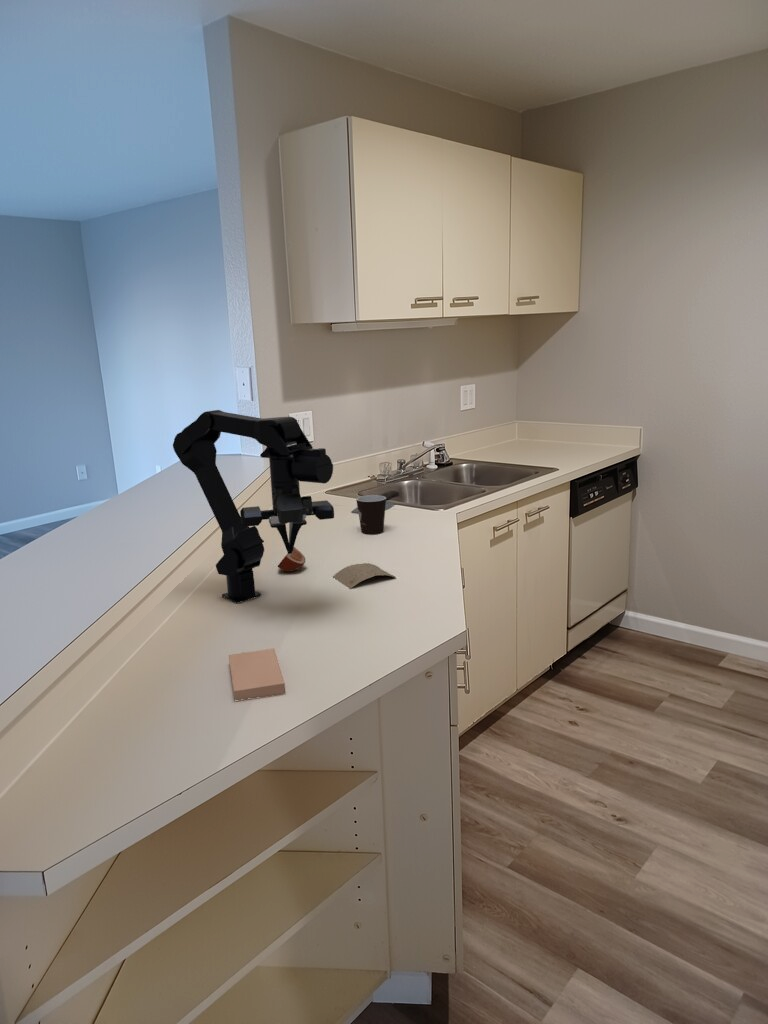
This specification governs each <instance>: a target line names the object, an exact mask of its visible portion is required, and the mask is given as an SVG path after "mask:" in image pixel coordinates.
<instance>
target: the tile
mask: <svg viewBox="0 0 768 1024" xmlns="http://www.w3.org/2000/svg"><path fill="white" fill-rule="evenodd" d="M228 660H229V669H230V675H231V682H232V690H233V697H234V701H235V700H241V699H248V698H255V699H258V698H257V697H261V698H267V697H266V696H268V697H273V696H272V695H274V696H279V695H278V694H281V695H285V694H286V685H285V680H284V676H283V674H282V673H283V672H282V670H281V666H280V663H279V659H278V656H277V652H276V649H275V648H267V649H259V650H254V651H247V652H240V653H234V654H233V653H232V654H228ZM284 693H285V694H284ZM248 700H249V699H248Z"/></svg>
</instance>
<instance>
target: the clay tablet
mask: <svg viewBox="0 0 768 1024" xmlns="http://www.w3.org/2000/svg"><path fill="white" fill-rule="evenodd" d="M375 576H389V577H392V578H394V579H397V577H396V576H395V575H393V574H391V573H389V572H388V571H385V570H383V569H382V568H380V567H379V566H378V565H375V564H372V563H366V562H363V563H356V564H351V565H347V566H346V567H344V568H343V567H342V568H341V570H338V572H336V573H335V574H334V575H333V576H332V577H333V578H332V579H334V578H335V579H334V580H336V581H337V580H338V582H339V584H342V585H344V586H345V587H347V588H348V589H352V588H353V587H355V586H356V585H358V584H359V583H361V582H363V581H365V580H367V579H370V578H372V577H375Z"/></svg>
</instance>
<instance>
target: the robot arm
mask: <svg viewBox="0 0 768 1024" xmlns="http://www.w3.org/2000/svg"><path fill="white" fill-rule="evenodd" d="M221 433H225V434H230V435H236V436H241V437H247V438H251V439H254V440H256V441H257V442H258V443H259V444H260V445H262V446H265V447H266V448H265V449H264V450H263V451H262V452H261V453H260V456H259V457H260V458H261V459H262V458H263V459H268V460H269V475H270V487H271V489H270V490H271V502H272V503H271V504H272V509H266V510H265V509H264V510H261V508H260V506H257V505H256V506H246V507H242V508H241V509H240V510H239V511H238V508H237V506H236V504H235V502H234V501H233V497H232V496H231V493H230V491H229V490H228V488H227V486H226V483H225V481H224V479H223V476H222V475H221V473H220V470H219V468H218V466H217V464H216V463H217V462H216V461H217V451H218V450H217V447H216V445H215V443H216V442H217V441H218V440H219V439H220V437H221ZM313 447H314V446H313V445H312V444H311V442H310V440H308V438H307V436H306V434H305V433H304V431H303V430H302V429H301V425H300V424H299V422H298V420H297V419H296V418H295V417H292V416H279V417H278V416H277V417H265V418H262V417H256V416H249V415H244V414H238V413H232V412H226V411H223V410H220V409H216V410H207V411H204V412H202V413H201V414H199V416H198V417H197V418H196V419H195V420H194V421H193V422H191V423H190V424H189V425H187V426H186V427H184V428H183V429H182V431H181V432H178V433H177V434H176V435H175V436H174V439H173V443H172V448H173V451H174V453H175V455H176V456H177V458H178V459H179V461H180V463H181V464H182V465H183V466H184V467H186V468H187V469H188V470H190V471H191V472H192V473H193V474H194V476H195V477H196V480H197V482H198V484H199V486H200V488H201V490H202V492H203V494H204V496H205V499H206V501H207V503H208V504H209V507H210V509H211V512H212V514H213V516H214V518H215V520H216V522H217V525H218V527H220V531H221V543H220V547H221V550H222V553H223V555H222V556H221V558H220V559H219V560H218V562H217V563H216V564H215V569H216V570H217V574H218V575H221V576H222V575H223V576H225V577H226V586H227V587H226V588H227V592H225V593H222V594H221V597H222V598H224V597H225V598H224V599H226V598H227V599H226V600H228V599H229V601H231V602H233V603H235V602H236V603H235V604H238V603H237V602H239V603H242V602H245V600H246V601H248V599H249V600H251V598H252V599H254V597H255V598H258V597H261V596H262V593H261V592H259V591H256V587H255V586H256V585H255V578H254V570H253V569H255V568H256V567H257V568H258V567H260V565H261V563H262V562H261V561H262V558H263V556H264V552H265V547H264V544H263V543H265V541H264V540H263V538H262V537H261V535H260V533H259V529H258V528H257V527H256V526H260V524H261V523H262V522H263V520H268V523H269V525H270V528H272V529H273V528H274V529H276V530H277V531H278V533H279V535H280V536H281V539H282V543H283V544H284V546H285V549H286V552H287V554H292V552H293V548H294V547H295V544H296V541H297V537H298V534H299V532H300V529H301V528H302V526H306V525H307V524H308V522H307V519H306V518H307V517H309V516H315V517H316V518H317V519H318V520H320V521H321V520H322V521H323V520H331V519H334V518H335V509H334V506H333V505H332V503H331V502H330V501H328V500H326V499H325V500H316V501H315V500H314V501H313V499H312V496H311V495H306V496H302V495H301V492H300V482H303V483H304V482H305V483H314V484H315V483H316V484H317V483H318V484H327V483H329V482H330V480H331V478H332V476H333V473H334V464H333V462H332V459H331V458H330V456H329V455H327V451H326V448H323V447H322V448H320V447H319V448H313ZM239 512H240V513H239ZM288 523H289V524H288ZM286 524H288V525H289V526H288V527H289V529H288V531H287V526H286ZM260 595H261V596H260ZM241 601H242V602H241Z"/></svg>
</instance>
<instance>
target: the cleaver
mask: <svg viewBox="0 0 768 1024" xmlns="http://www.w3.org/2000/svg"><path fill="white" fill-rule="evenodd" d="M379 495H380V496H384V497H386V505H385V512H387V511H388V510H389V509H391V508H392V507H393V506H395V505H396V503H394V502H390V501H388V500H391V499H393V498H396V497H399V496H400V493H399V491H397V490H389V491H387V492H384V493H381V494H379ZM394 504H395V505H394ZM351 514H355V515H356V514H357V515H359V513H358V507H355V508H354V509H353V510H352V511H351Z"/></svg>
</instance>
